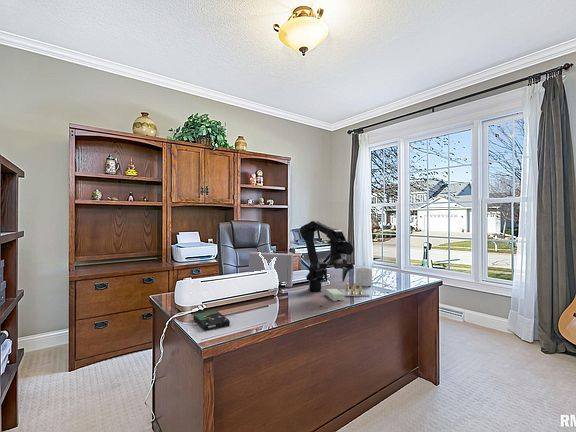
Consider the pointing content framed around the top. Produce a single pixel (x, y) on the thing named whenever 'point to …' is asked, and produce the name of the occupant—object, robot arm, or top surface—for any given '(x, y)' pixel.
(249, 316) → the top surface
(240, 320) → the top surface
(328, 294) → the pale green block
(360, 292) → the chassis
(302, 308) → the top surface
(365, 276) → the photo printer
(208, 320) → the disk drive
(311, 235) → the robot arm
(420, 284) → the top surface
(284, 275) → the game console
